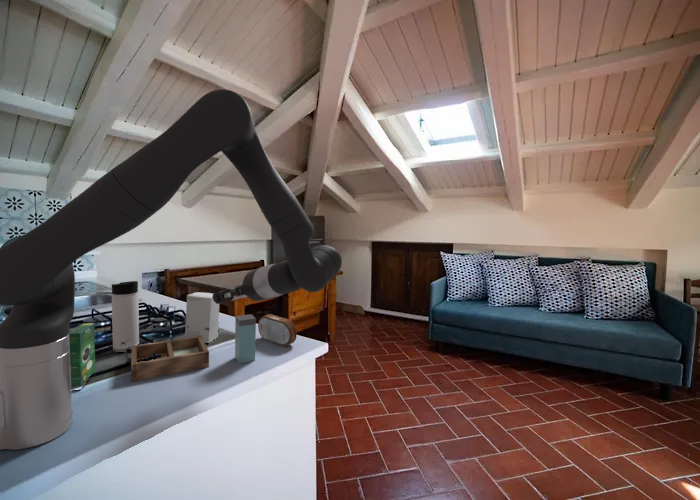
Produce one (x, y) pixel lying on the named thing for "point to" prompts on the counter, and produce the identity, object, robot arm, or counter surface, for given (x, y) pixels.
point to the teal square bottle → (245, 338)
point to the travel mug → (125, 315)
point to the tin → (277, 329)
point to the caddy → (169, 357)
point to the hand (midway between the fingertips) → (229, 293)
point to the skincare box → (202, 316)
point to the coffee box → (82, 353)
